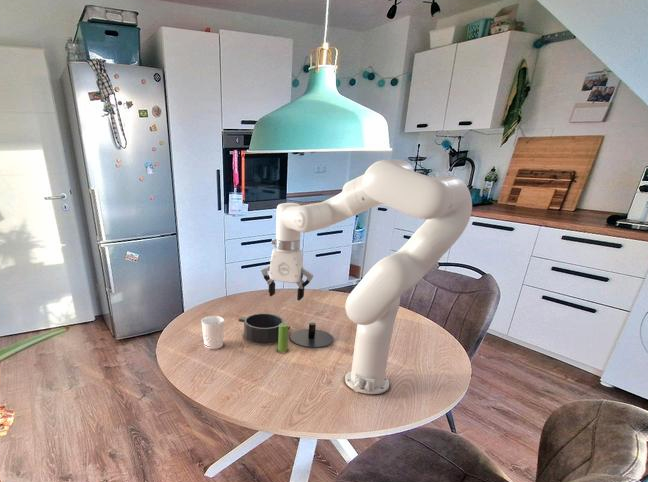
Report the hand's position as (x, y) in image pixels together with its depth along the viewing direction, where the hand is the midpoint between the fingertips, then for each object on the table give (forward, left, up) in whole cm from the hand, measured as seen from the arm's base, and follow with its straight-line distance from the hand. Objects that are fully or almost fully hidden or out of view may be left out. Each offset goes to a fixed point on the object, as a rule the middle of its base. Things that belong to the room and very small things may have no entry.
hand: (285, 297), depth 127 cm
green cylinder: (0, 0, -20) cm, 20 cm away
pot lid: (+13, -6, -19) cm, 24 cm away
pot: (+8, +11, -20) cm, 24 cm away
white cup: (-7, +24, -20) cm, 32 cm away
